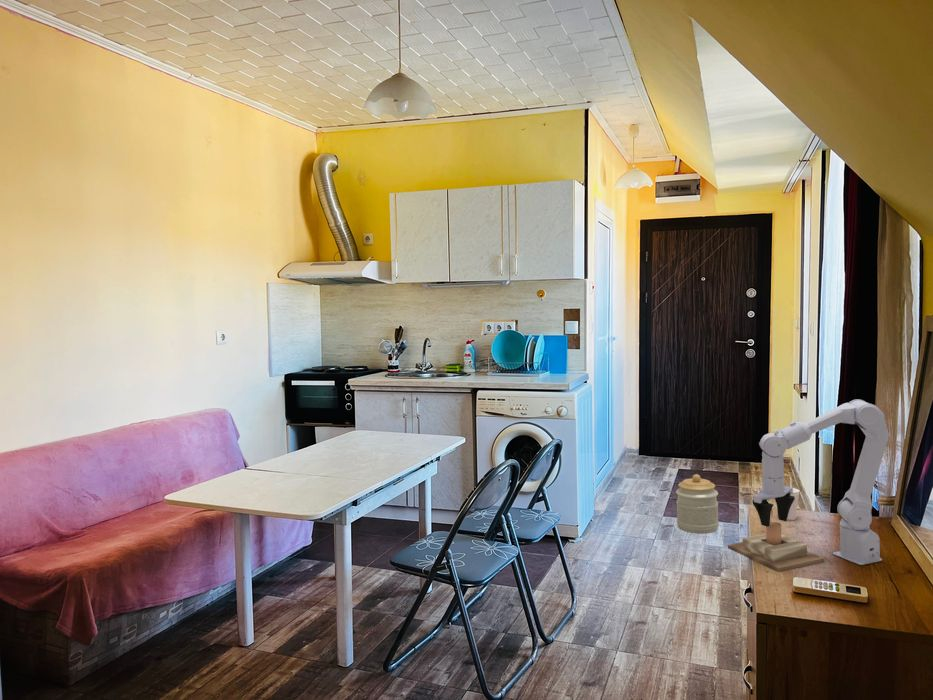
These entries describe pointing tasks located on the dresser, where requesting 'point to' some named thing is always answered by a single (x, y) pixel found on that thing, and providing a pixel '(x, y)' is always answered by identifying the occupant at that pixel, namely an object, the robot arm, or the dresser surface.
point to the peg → (773, 533)
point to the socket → (776, 552)
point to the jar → (697, 506)
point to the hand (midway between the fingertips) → (774, 522)
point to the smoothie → (793, 507)
